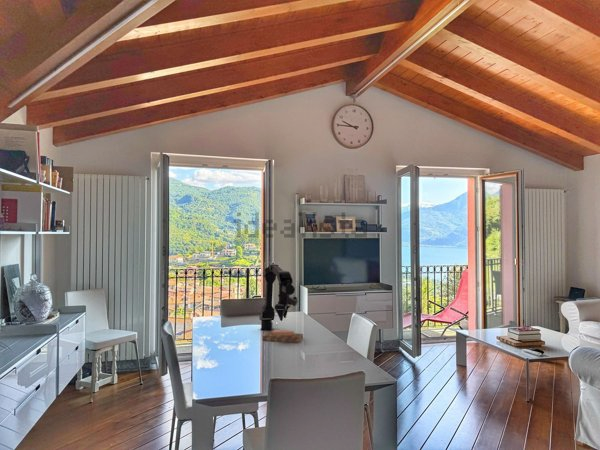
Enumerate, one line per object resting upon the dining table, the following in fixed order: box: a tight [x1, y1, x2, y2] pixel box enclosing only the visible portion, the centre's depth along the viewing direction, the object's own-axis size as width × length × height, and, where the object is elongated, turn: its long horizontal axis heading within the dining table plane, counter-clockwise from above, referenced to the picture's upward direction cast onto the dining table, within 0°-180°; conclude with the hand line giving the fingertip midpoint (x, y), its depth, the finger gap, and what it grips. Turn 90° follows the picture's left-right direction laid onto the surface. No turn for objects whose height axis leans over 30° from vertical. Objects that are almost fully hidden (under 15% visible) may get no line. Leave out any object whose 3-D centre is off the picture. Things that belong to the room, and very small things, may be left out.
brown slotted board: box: [262, 331, 304, 344], centre depth 239 cm, size 22×10×3 cm, turn 79°
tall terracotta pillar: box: [272, 329, 295, 336], centre depth 239 cm, size 12×3×5 cm, turn 79°
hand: (283, 319), depth 239 cm, fingers open, 9 cm apart
